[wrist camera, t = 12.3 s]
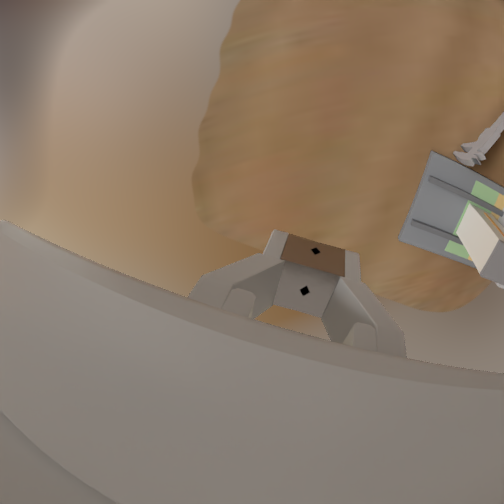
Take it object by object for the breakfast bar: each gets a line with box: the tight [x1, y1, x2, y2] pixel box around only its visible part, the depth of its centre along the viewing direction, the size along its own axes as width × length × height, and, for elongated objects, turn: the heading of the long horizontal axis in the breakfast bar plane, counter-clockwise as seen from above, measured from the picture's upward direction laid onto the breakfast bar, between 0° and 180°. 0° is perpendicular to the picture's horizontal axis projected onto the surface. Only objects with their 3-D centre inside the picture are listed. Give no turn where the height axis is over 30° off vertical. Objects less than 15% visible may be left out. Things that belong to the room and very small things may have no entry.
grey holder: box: [398, 150, 504, 289], centre depth 29 cm, size 14×18×9 cm
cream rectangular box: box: [456, 203, 504, 285], centre depth 27 cm, size 5×5×11 cm
